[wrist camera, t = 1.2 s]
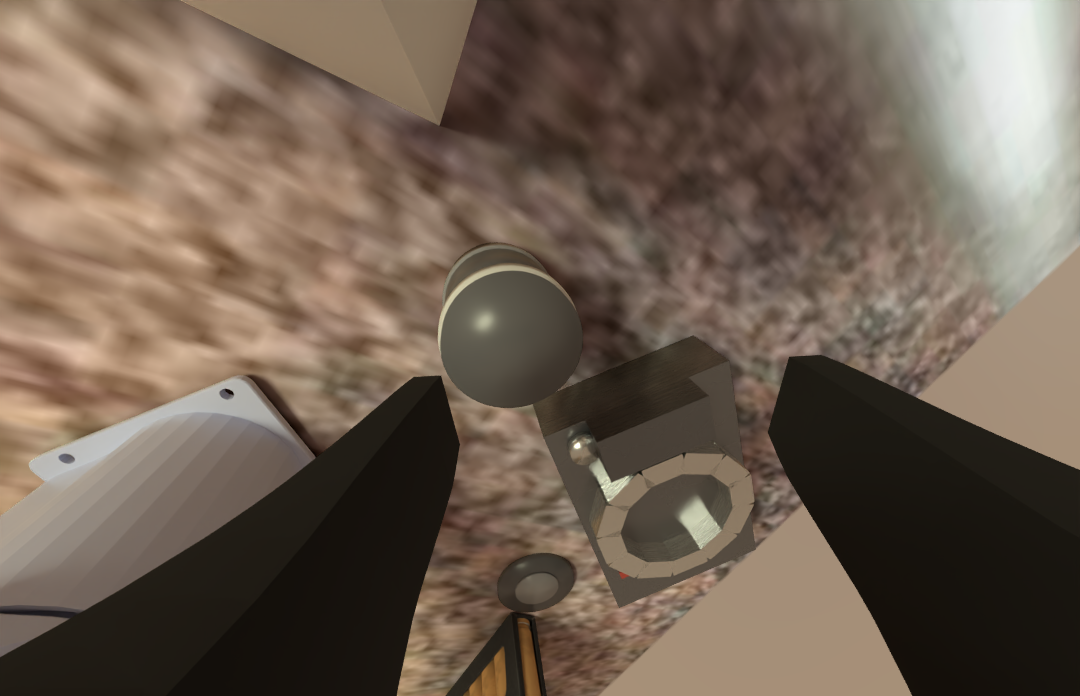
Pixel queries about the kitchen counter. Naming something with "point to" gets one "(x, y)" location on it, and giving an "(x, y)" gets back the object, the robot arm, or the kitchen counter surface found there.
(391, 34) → the milk
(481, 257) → the lens
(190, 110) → the kitchen counter surface
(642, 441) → the camera body
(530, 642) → the ammunition clip
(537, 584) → the lens cap
